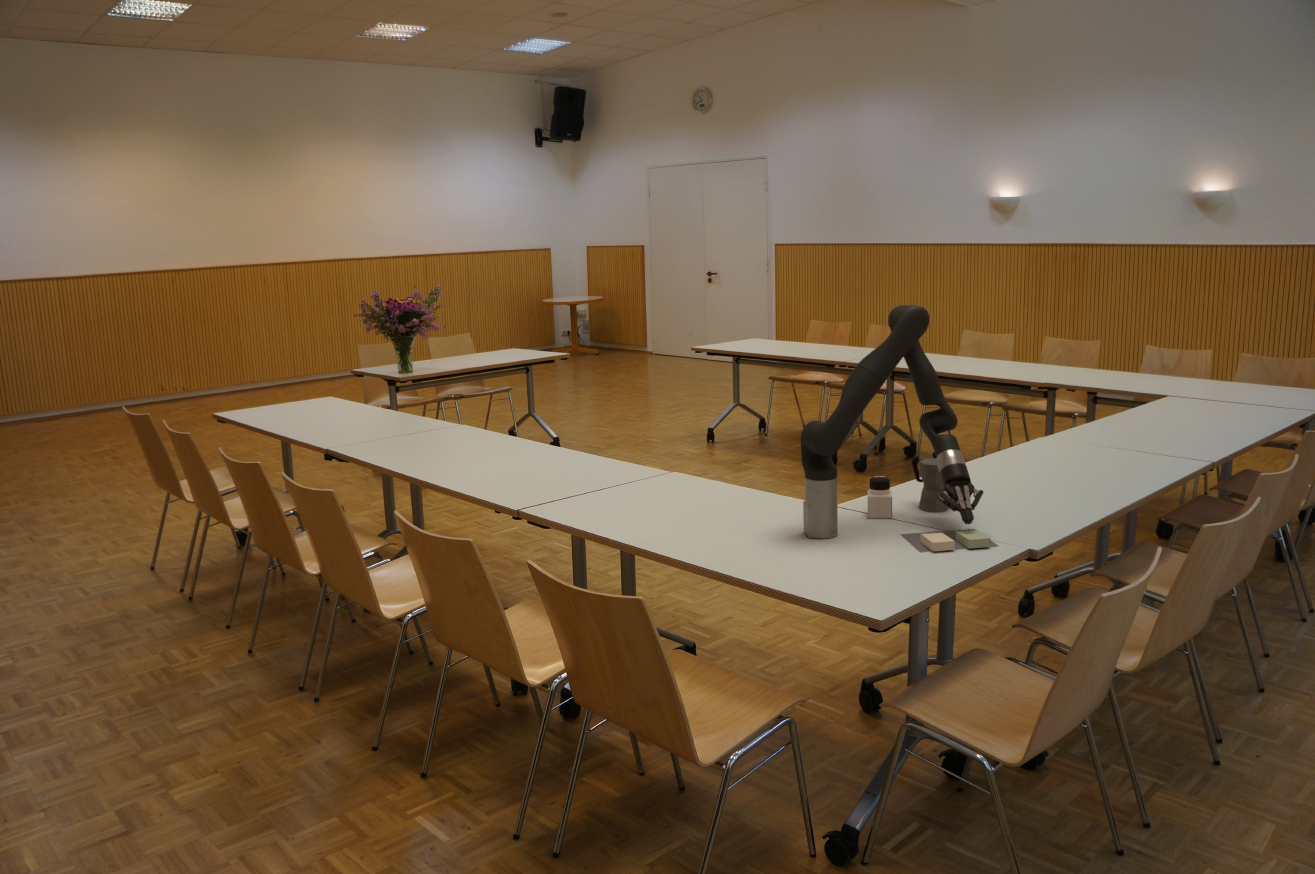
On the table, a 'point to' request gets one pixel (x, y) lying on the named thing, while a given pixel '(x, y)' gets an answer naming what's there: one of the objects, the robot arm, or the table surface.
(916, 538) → the slate mat
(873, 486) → the medicine bottle
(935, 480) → the coffeepot
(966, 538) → the one-dot tile
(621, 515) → the table surface
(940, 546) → the plain beige block
